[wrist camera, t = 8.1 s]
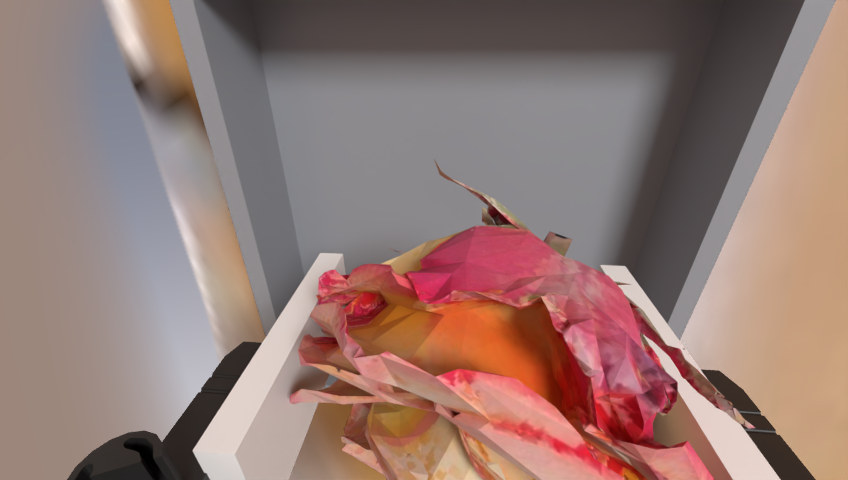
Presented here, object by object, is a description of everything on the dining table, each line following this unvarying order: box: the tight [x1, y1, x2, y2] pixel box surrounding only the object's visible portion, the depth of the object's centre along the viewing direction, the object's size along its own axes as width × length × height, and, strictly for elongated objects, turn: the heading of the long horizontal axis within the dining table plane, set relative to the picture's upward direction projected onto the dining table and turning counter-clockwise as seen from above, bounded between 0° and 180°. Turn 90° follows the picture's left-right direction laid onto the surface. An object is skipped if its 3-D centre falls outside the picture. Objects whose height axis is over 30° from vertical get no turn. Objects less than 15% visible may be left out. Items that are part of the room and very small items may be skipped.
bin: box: [169, 0, 836, 389], centre depth 17 cm, size 20×20×4 cm
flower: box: [289, 159, 755, 480], centre depth 9 cm, size 10×9×8 cm
